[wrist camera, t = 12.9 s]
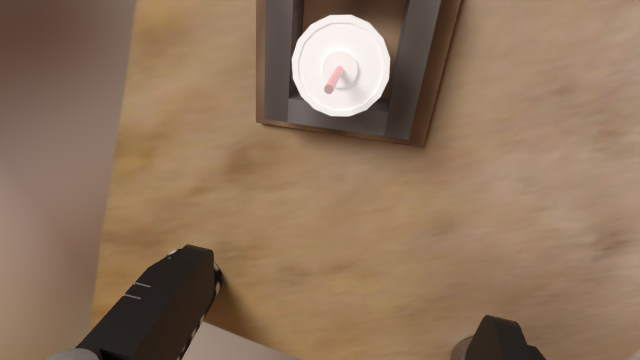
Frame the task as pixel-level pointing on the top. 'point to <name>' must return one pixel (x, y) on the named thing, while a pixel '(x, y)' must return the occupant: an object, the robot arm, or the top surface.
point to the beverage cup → (341, 65)
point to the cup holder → (404, 75)
